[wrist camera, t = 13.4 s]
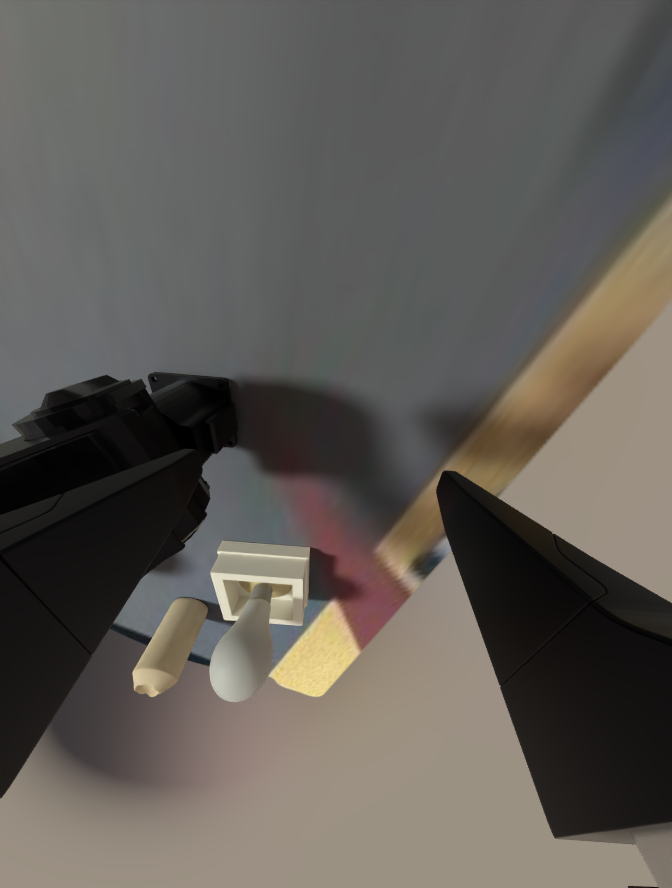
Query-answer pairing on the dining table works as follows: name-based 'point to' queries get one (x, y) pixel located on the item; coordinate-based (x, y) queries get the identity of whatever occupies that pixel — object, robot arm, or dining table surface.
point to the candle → (169, 647)
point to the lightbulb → (245, 650)
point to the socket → (262, 578)
